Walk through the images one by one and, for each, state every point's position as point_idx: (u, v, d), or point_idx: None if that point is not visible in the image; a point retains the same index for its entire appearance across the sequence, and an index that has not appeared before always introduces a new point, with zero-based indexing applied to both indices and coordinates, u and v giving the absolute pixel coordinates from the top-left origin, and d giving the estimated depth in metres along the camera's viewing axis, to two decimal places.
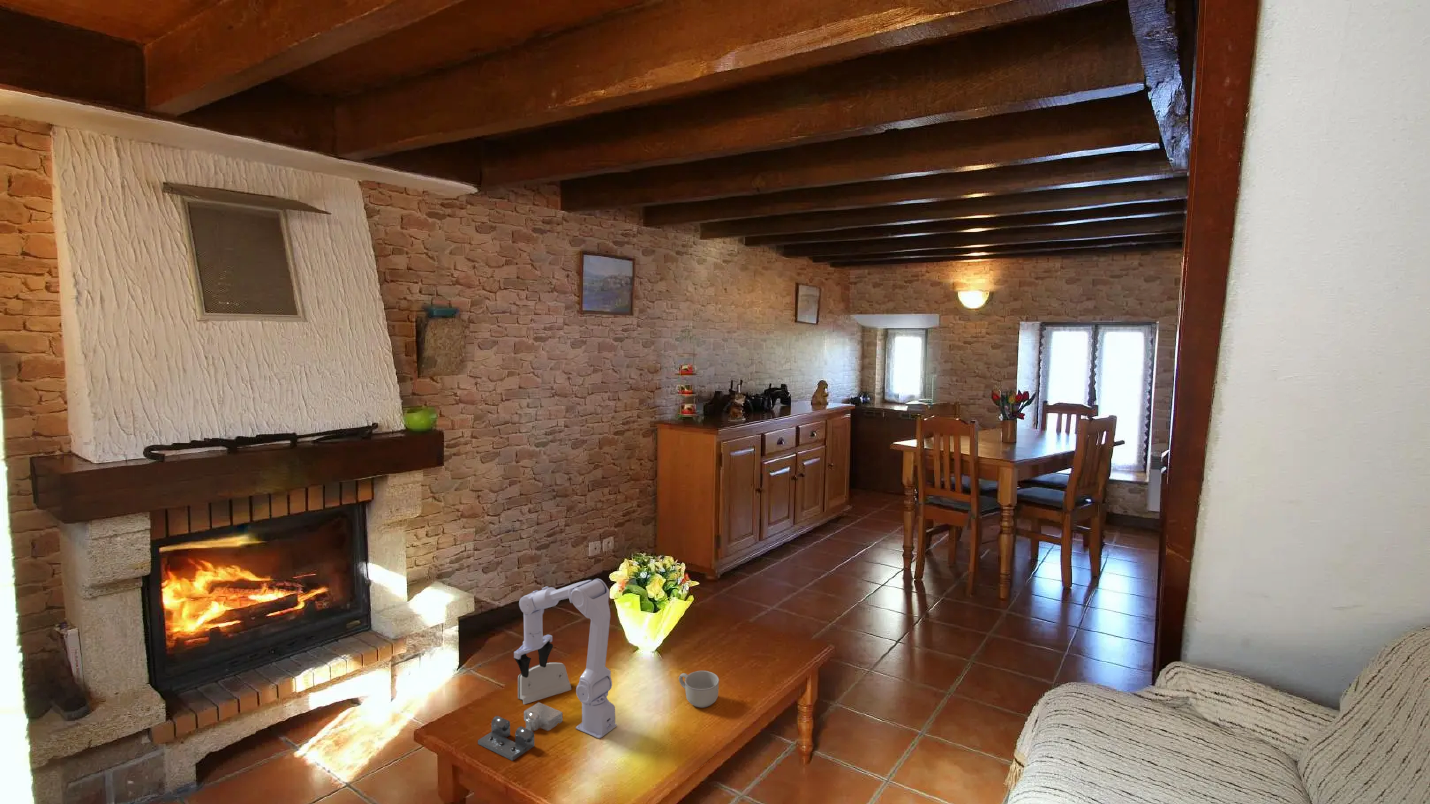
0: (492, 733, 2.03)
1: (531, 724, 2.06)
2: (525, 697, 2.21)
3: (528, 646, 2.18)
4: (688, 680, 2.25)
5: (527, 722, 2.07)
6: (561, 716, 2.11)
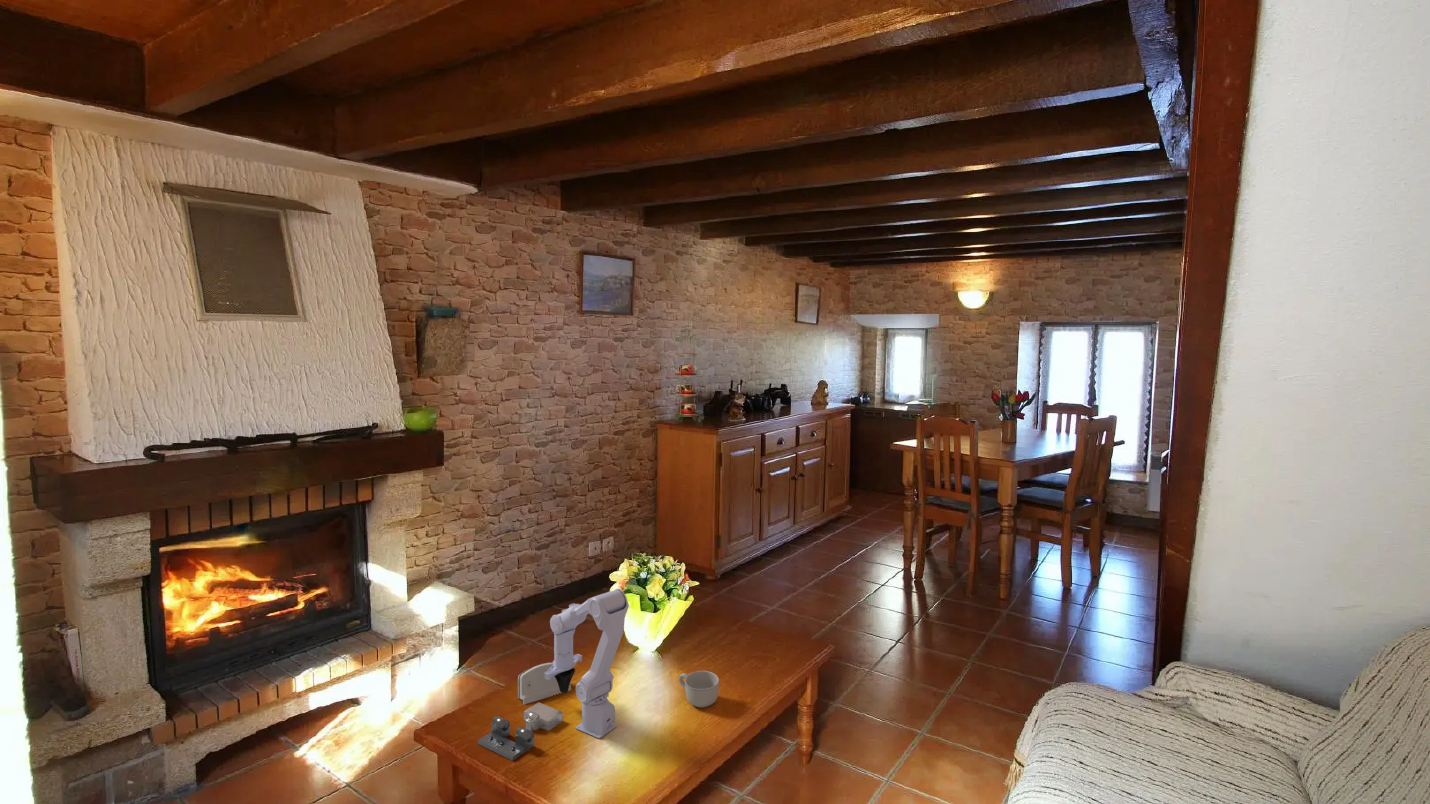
0: (492, 733, 2.03)
1: (531, 724, 2.06)
2: (525, 697, 2.21)
3: (559, 666, 2.15)
4: (688, 680, 2.25)
5: (527, 722, 2.07)
6: (561, 716, 2.11)
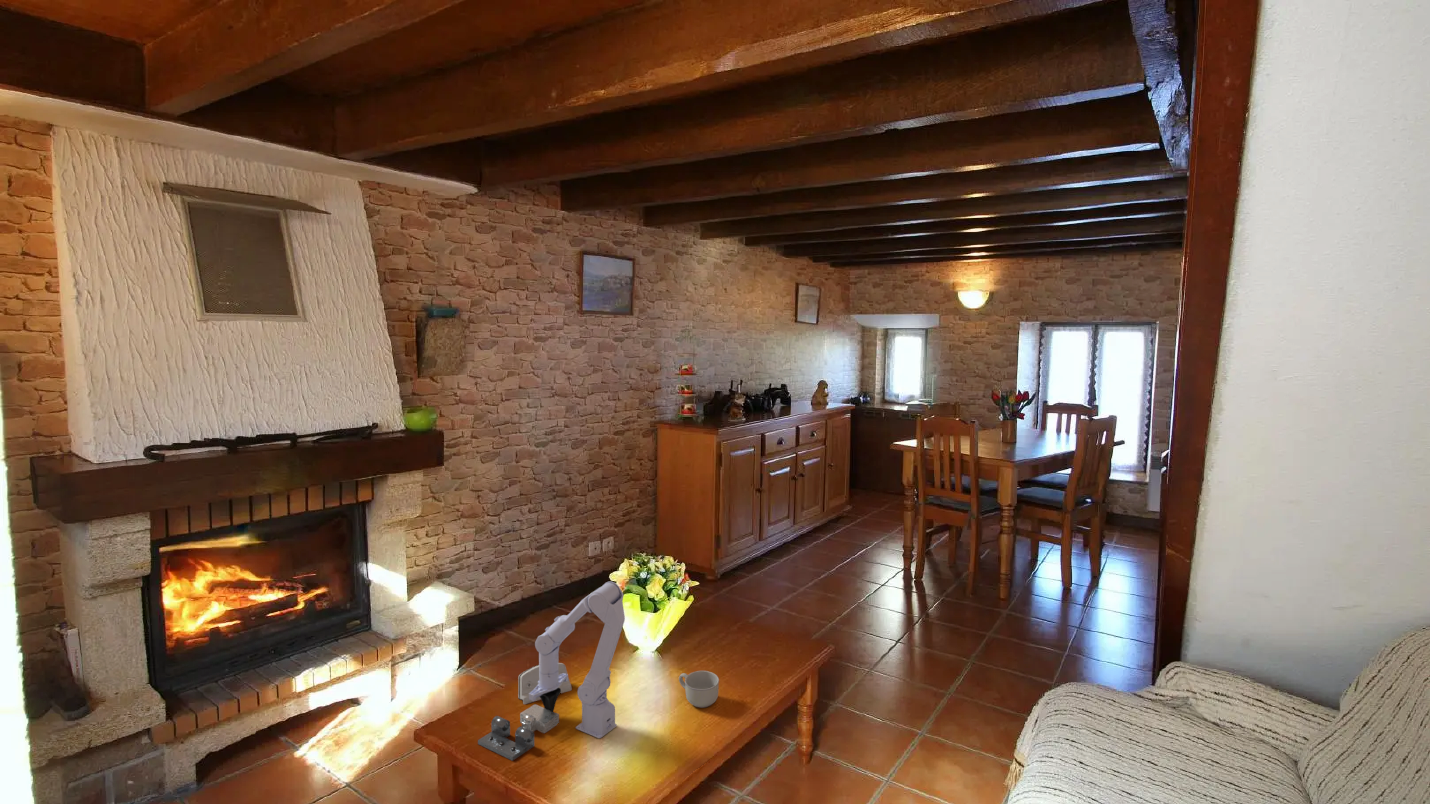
0: (492, 733, 2.03)
1: (527, 727, 2.05)
2: (525, 697, 2.21)
3: (543, 687, 2.10)
4: (688, 680, 2.25)
5: (523, 725, 2.05)
6: (557, 718, 2.10)
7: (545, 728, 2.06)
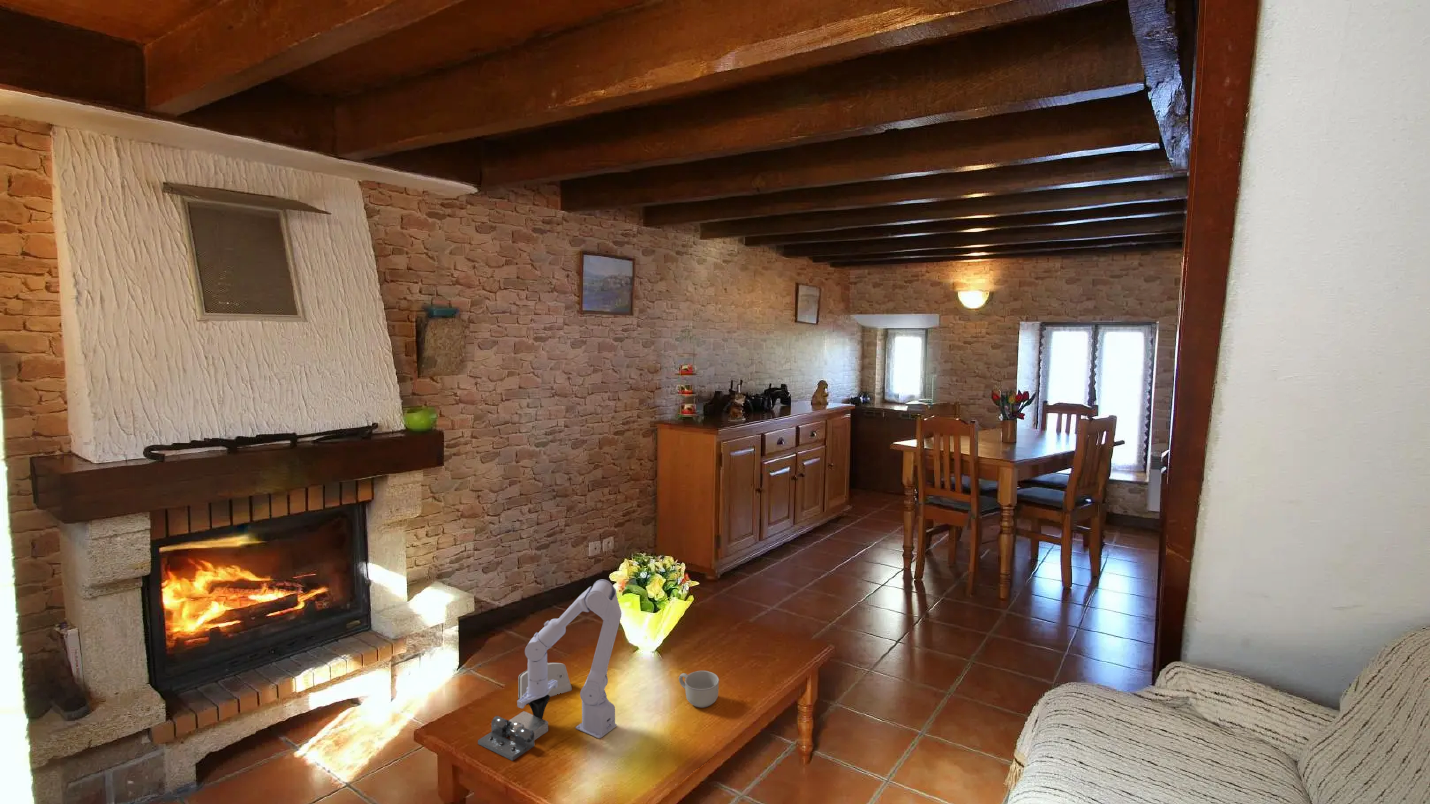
0: (492, 733, 2.03)
1: None
2: None
3: (532, 694, 2.06)
4: (688, 680, 2.25)
5: (511, 732, 2.02)
6: (547, 725, 2.06)
7: (534, 736, 2.02)
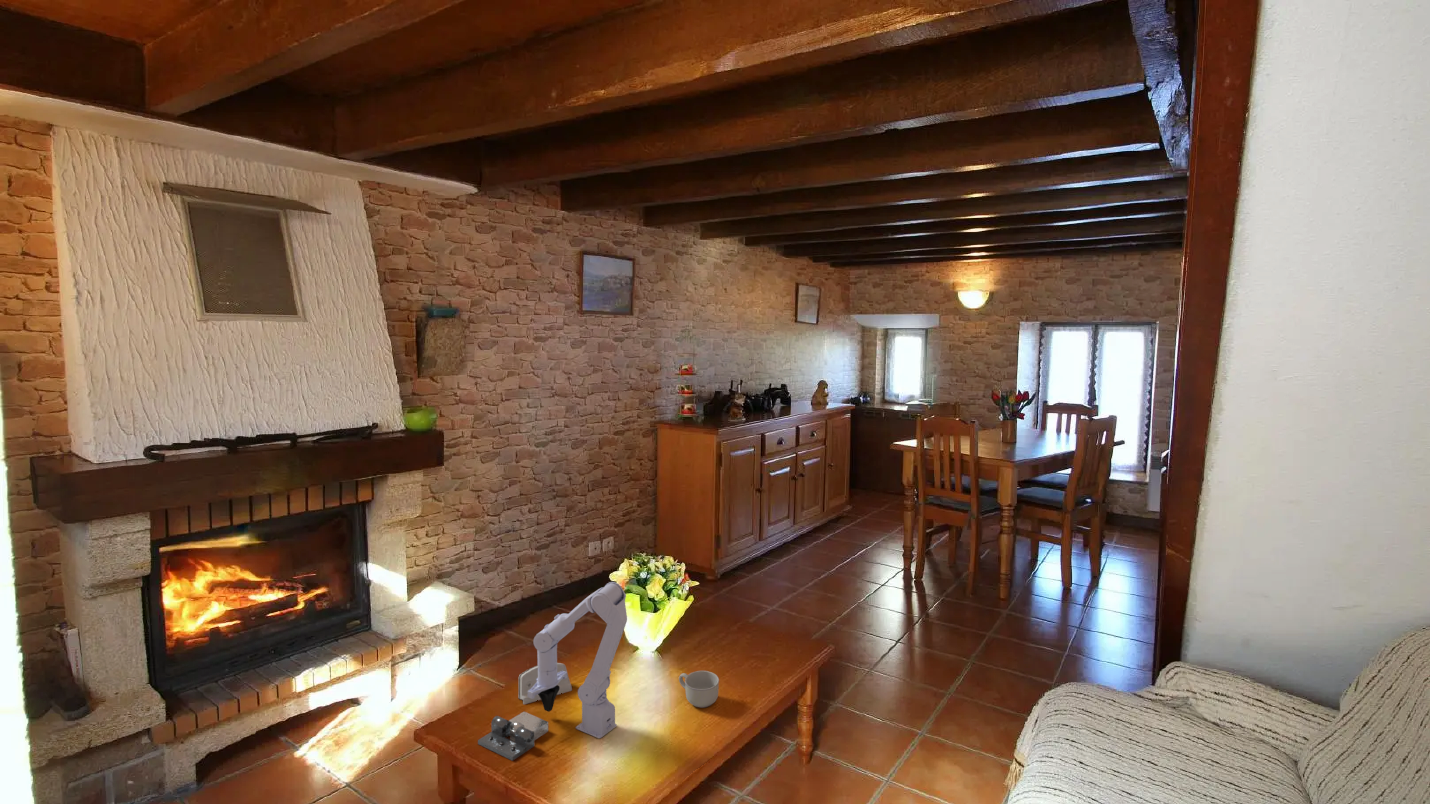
0: (492, 733, 2.03)
1: None
2: (525, 697, 2.21)
3: (542, 684, 2.10)
4: (688, 680, 2.25)
5: (511, 732, 2.02)
6: (547, 725, 2.06)
7: (534, 736, 2.02)
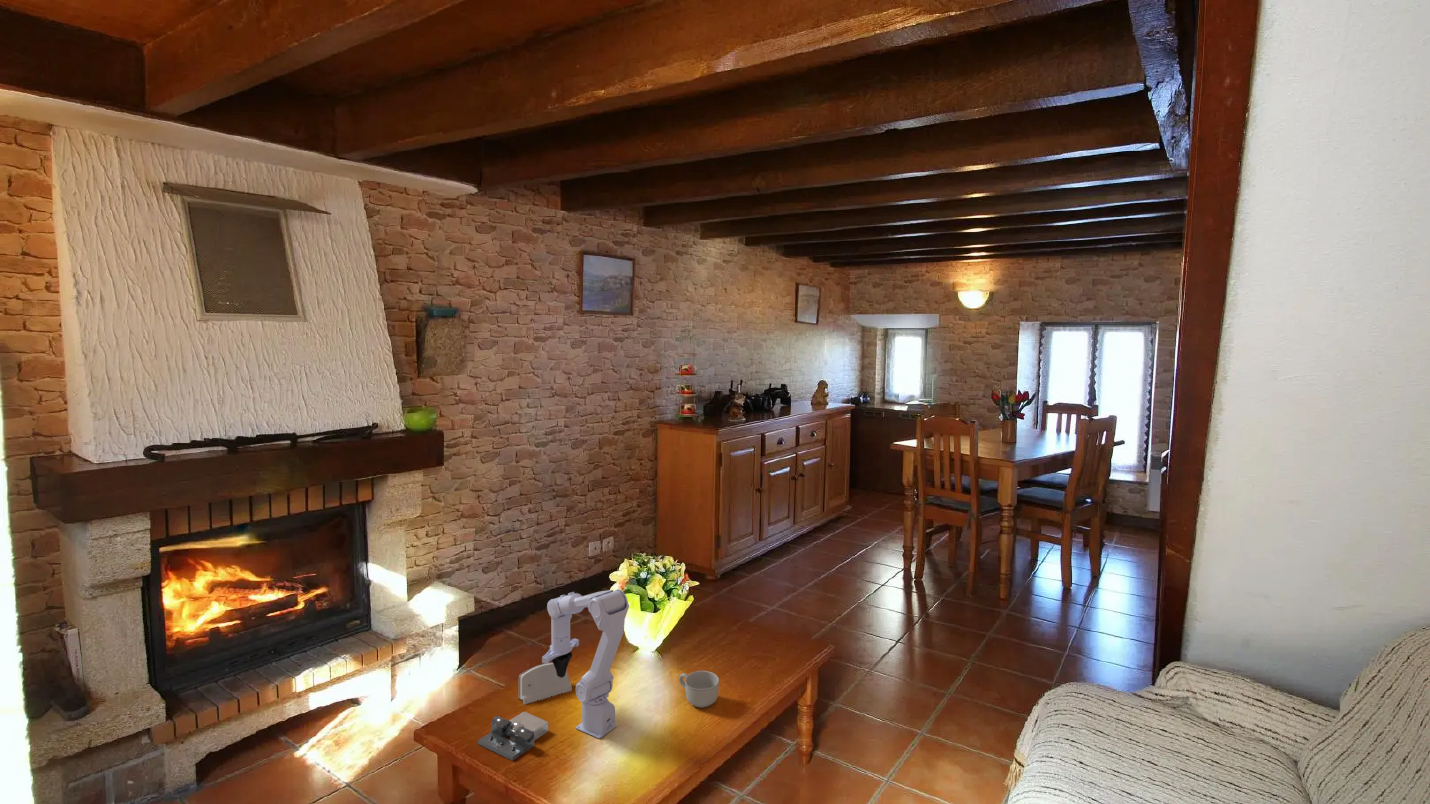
0: (492, 733, 2.03)
1: None
2: (525, 697, 2.21)
3: (556, 651, 2.16)
4: (688, 680, 2.25)
5: (511, 732, 2.02)
6: (547, 725, 2.06)
7: (534, 736, 2.02)
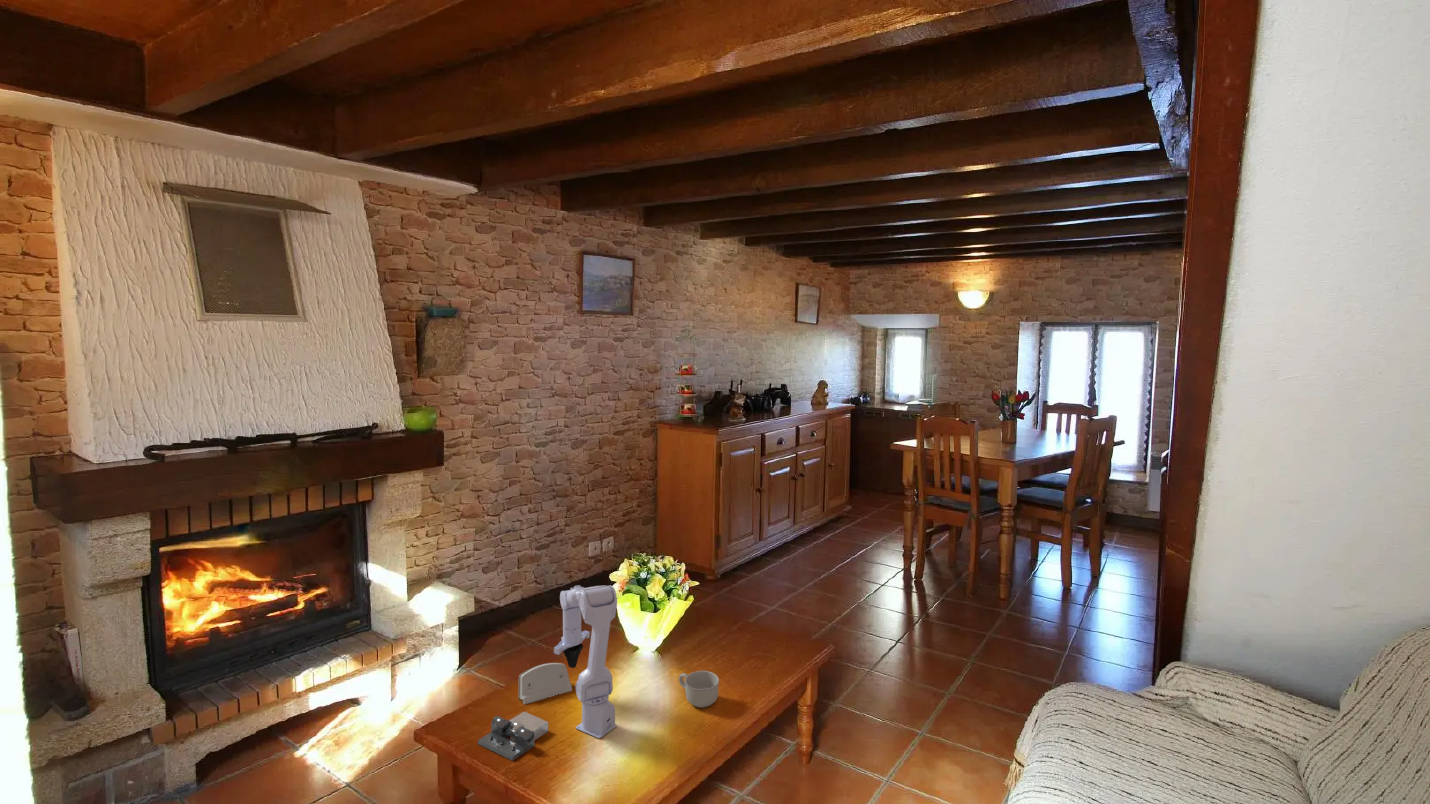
0: (492, 733, 2.03)
1: None
2: (525, 697, 2.21)
3: (567, 642, 2.22)
4: (688, 680, 2.25)
5: (511, 732, 2.02)
6: (547, 725, 2.06)
7: (534, 736, 2.02)
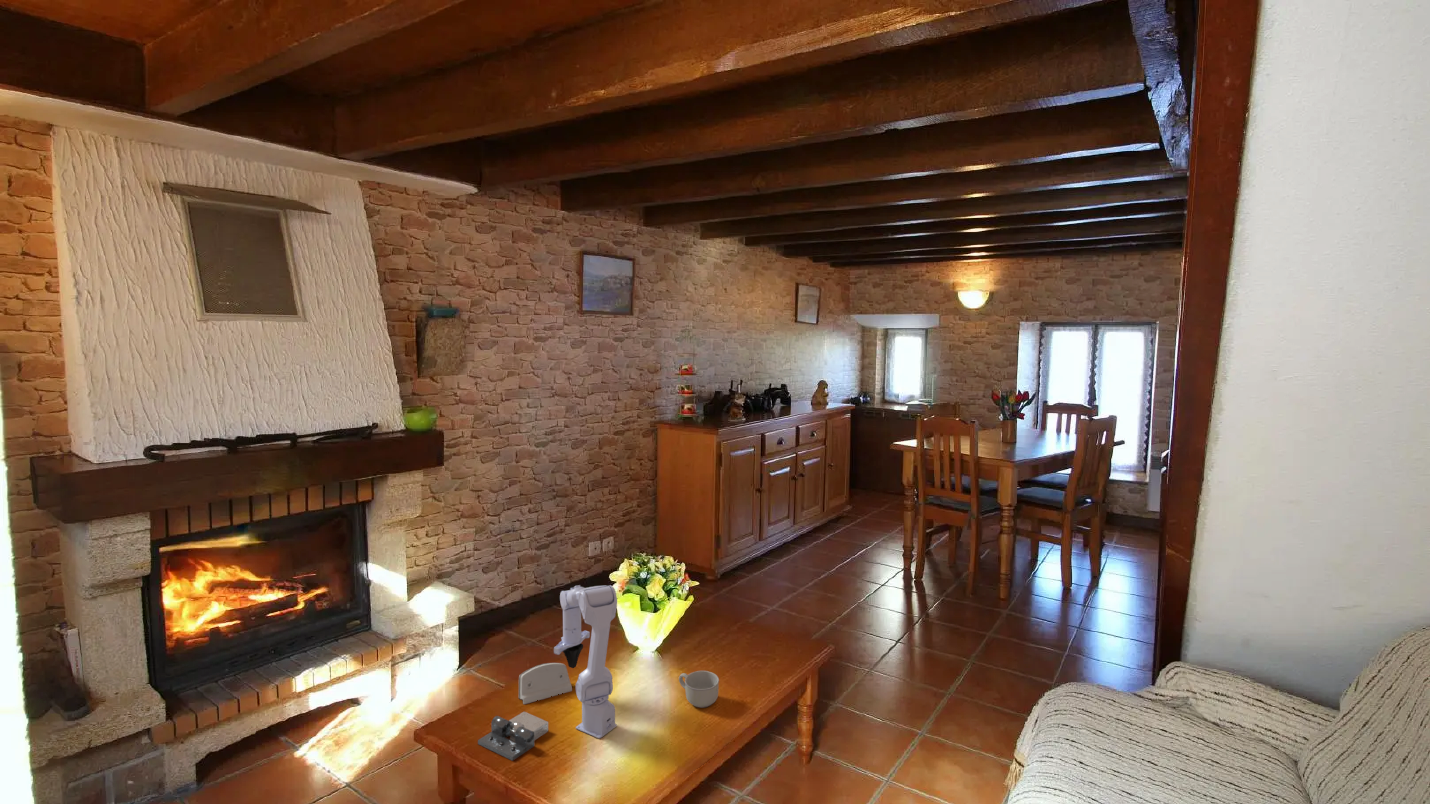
0: (492, 733, 2.03)
1: None
2: (525, 697, 2.21)
3: (567, 642, 2.22)
4: (688, 680, 2.25)
5: (511, 732, 2.02)
6: (547, 725, 2.06)
7: (534, 736, 2.02)
